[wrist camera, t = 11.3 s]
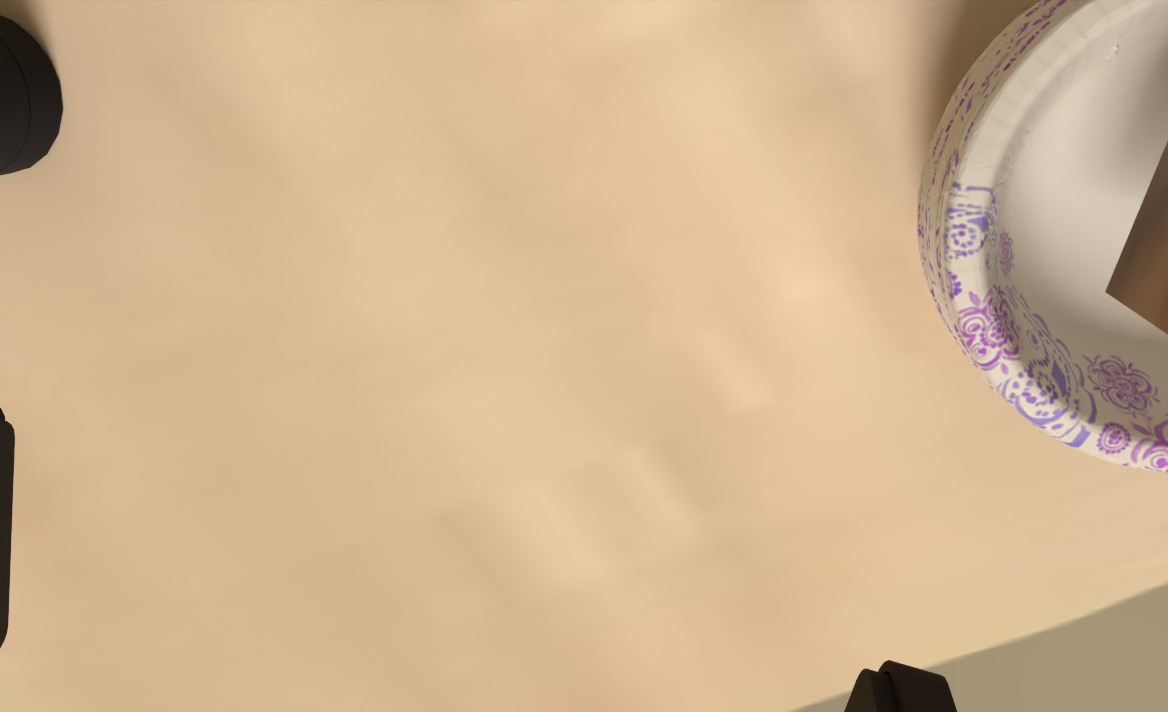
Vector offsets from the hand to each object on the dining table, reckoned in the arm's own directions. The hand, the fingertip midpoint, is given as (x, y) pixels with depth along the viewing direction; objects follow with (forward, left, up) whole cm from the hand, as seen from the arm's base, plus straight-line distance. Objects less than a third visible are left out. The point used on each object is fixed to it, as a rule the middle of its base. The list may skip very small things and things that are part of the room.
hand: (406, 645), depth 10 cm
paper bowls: (-5, +16, -29) cm, 33 cm away
